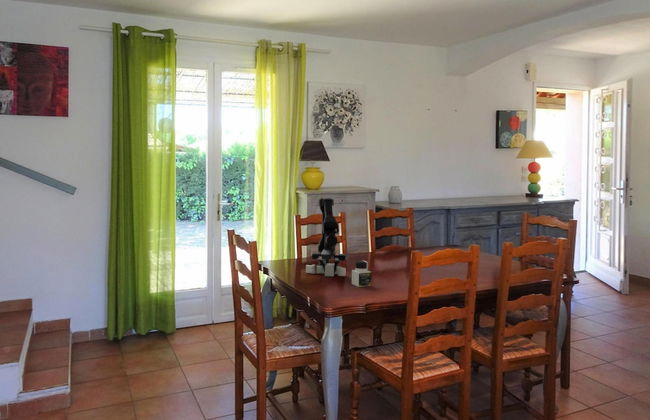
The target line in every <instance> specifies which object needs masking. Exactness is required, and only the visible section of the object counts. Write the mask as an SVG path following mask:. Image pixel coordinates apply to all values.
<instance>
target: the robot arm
mask: <svg viewBox="0 0 650 420" xmlns="http://www.w3.org/2000/svg"><path fill="white" fill-rule="evenodd" d="M317 204H318V206H319V207H318V208H319V209H320V211H321V238H320V239H319V241H318V245H317V250H316V251H315V252H313V253H312V254H311V259H312V260H317V261H319V263H318V264H317V266H322V267H323V270H324V272H325V265H326V264H332V263H330V260H331V259H335V260H334V261H333V262H334V263H333V264H334V273H335V272H336V269H337V267H339V264H340V262H346V261H347V260H348V259H349V254H347V253H339V254H336V246H337V244H338V241H339V240H338V238H337V237H336V235H338V234H339V233H340V227H339V223H338V222H337V220H336V219H337V218H336V217H335V216H334V214H333V213H334V212H333V207H334V206H335V199H332V197H320V199H318V203H317Z"/></svg>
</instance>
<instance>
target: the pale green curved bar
mask: <svg viewBox="0 0 650 420" xmlns="http://www.w3.org/2000/svg"><path fill="white" fill-rule="evenodd" d="M338 267H339V266H338ZM338 267H337V269H336V272H335V274H334V275H338ZM316 274H325V272H324V270H323V267H322V266H318V265H316Z"/></svg>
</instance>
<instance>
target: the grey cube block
mask: <svg viewBox="0 0 650 420" xmlns="http://www.w3.org/2000/svg"><path fill="white" fill-rule="evenodd" d="M335 275H336V274H335V273H334V263H331V264H326V265H325V273H324V277H334V276H335Z"/></svg>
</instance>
